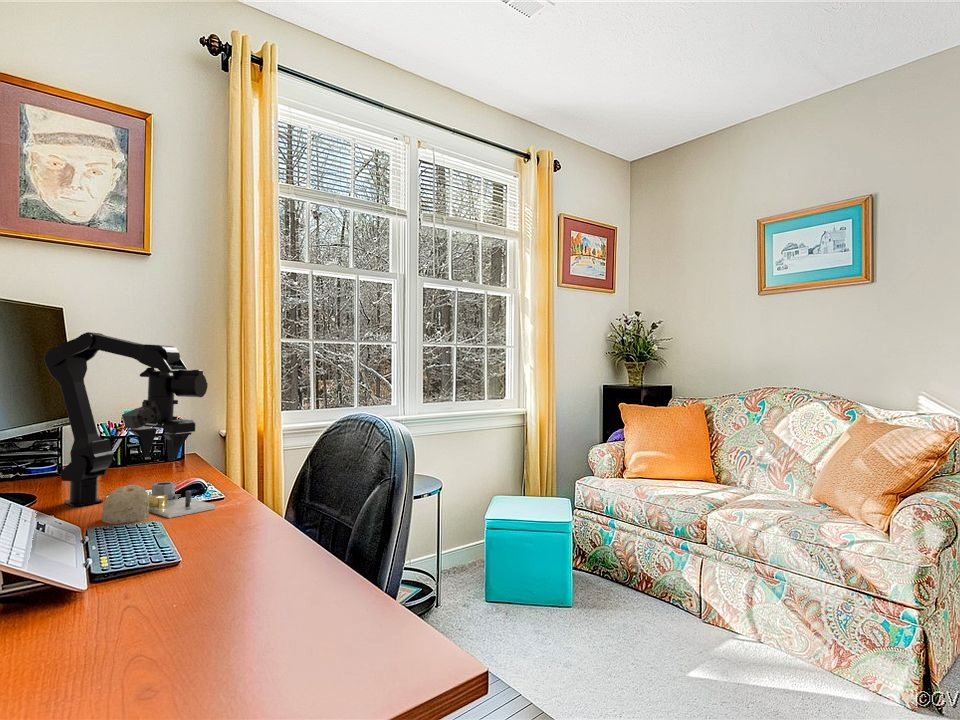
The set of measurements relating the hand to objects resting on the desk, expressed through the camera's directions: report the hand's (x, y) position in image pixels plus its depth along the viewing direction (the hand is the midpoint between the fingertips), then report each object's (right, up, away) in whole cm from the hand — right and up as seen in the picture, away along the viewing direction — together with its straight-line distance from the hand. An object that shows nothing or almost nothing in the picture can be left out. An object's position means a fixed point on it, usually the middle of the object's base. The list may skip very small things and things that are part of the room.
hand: (158, 459), depth 141 cm
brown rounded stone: (0, -12, -12) cm, 17 cm away
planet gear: (-1, -12, +4) cm, 12 cm away
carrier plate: (+7, -12, -3) cm, 14 cm away
